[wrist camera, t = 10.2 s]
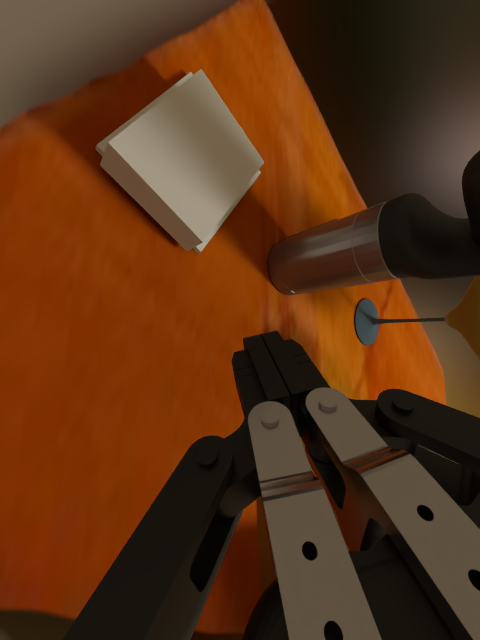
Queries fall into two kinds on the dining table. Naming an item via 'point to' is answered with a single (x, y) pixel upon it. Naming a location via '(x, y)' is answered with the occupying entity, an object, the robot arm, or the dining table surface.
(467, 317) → the cocktail glass
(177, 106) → the tile
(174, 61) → the dining table surface
